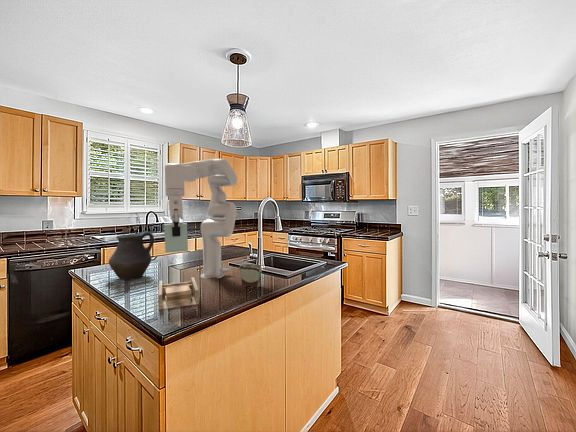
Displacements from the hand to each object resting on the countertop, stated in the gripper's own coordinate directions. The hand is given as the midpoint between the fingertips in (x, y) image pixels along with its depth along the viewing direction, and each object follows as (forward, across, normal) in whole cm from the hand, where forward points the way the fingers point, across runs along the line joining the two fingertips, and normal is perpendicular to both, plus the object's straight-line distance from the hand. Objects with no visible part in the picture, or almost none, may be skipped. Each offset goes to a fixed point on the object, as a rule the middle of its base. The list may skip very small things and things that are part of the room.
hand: (176, 235), depth 121 cm
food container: (+27, +3, -35) cm, 45 cm away
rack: (+27, -6, 0) cm, 28 cm away
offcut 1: (+22, -9, 0) cm, 24 cm away
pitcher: (+27, +43, +21) cm, 55 cm away
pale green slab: (+7, 0, 0) cm, 7 cm away
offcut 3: (+26, -9, 0) cm, 27 cm away
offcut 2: (+24, -9, 0) cm, 26 cm away
